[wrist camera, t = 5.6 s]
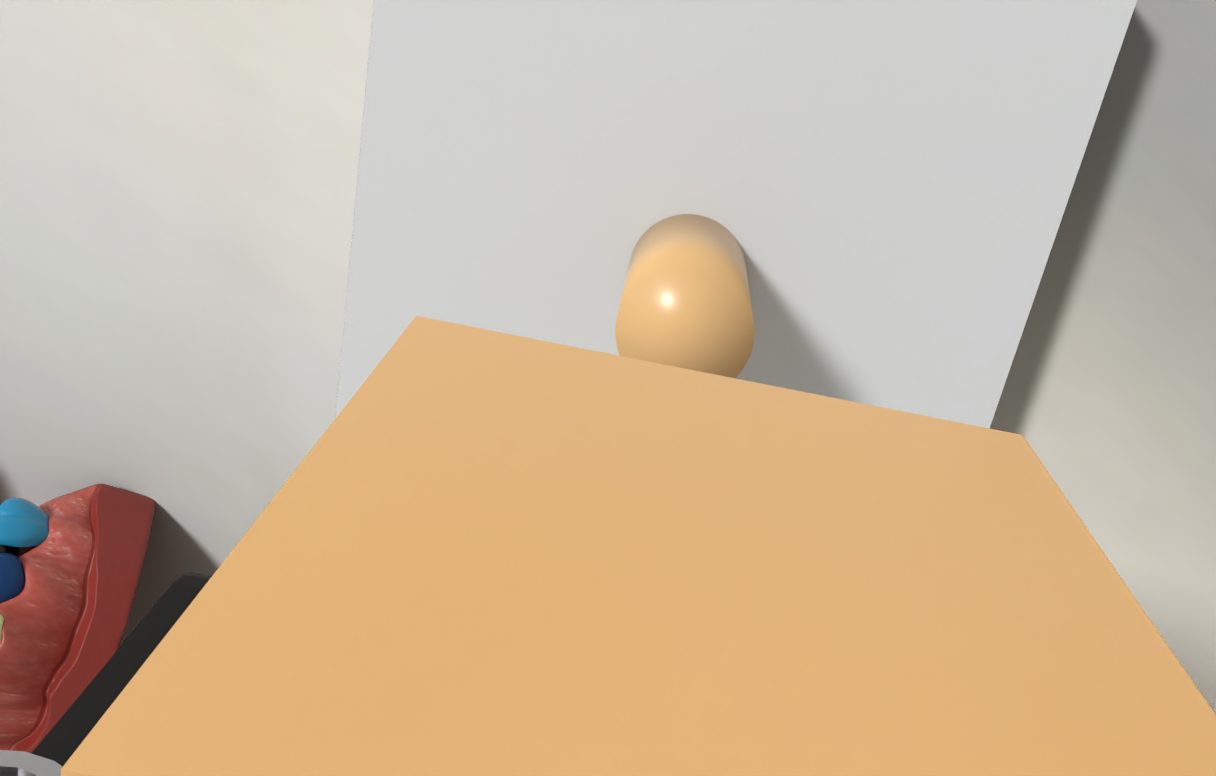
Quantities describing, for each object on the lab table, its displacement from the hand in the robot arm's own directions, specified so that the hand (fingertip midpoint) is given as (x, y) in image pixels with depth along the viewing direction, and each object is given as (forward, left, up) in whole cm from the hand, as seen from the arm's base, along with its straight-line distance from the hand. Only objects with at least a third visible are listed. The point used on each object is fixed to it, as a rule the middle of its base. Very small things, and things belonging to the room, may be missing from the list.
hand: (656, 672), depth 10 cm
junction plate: (0, 0, -15) cm, 15 cm away
